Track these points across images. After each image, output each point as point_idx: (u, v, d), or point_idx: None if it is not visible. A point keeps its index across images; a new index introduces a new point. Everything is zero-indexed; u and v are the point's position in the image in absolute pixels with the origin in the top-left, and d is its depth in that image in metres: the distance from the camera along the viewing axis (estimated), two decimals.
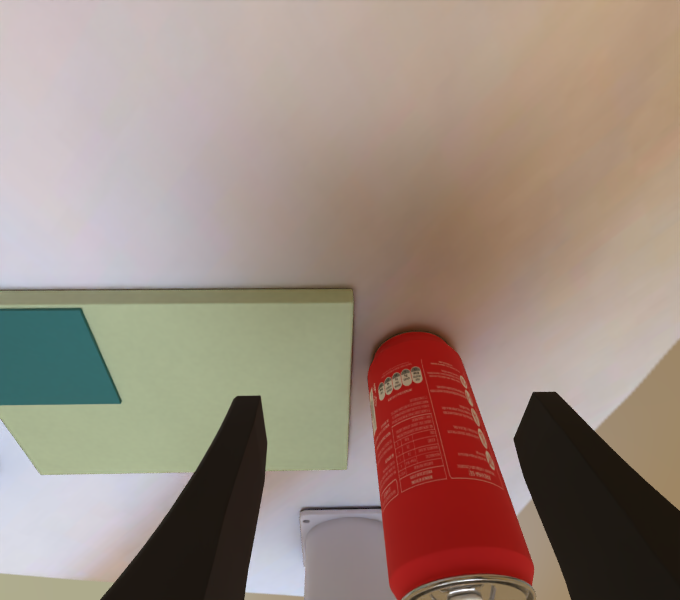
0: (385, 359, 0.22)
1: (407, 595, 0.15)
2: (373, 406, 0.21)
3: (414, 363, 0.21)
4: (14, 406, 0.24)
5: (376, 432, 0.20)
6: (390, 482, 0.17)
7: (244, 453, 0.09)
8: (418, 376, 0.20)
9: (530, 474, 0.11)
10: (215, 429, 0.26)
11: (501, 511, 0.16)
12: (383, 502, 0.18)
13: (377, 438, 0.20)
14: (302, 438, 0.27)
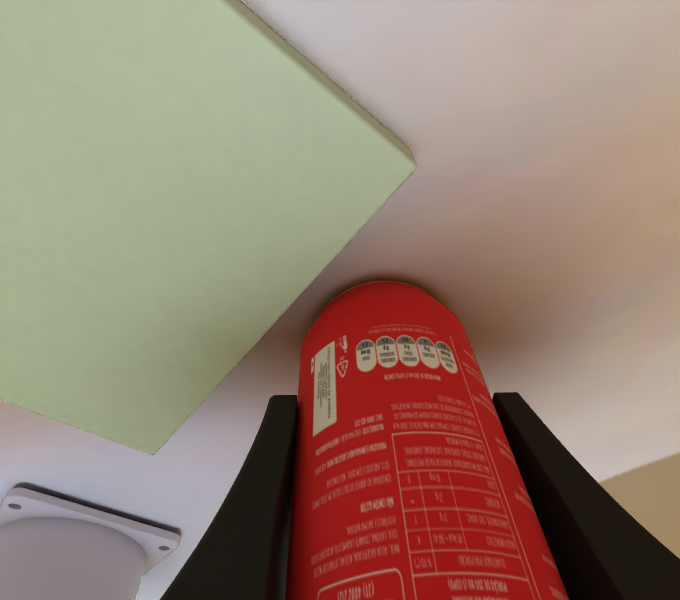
0: (381, 306, 0.12)
1: None
2: (331, 375, 0.10)
3: (441, 335, 0.11)
4: None
5: (333, 429, 0.09)
6: (374, 571, 0.07)
7: (287, 452, 0.09)
8: (450, 361, 0.10)
9: None
10: None
11: None
12: None
13: (334, 442, 0.09)
14: (117, 371, 0.14)
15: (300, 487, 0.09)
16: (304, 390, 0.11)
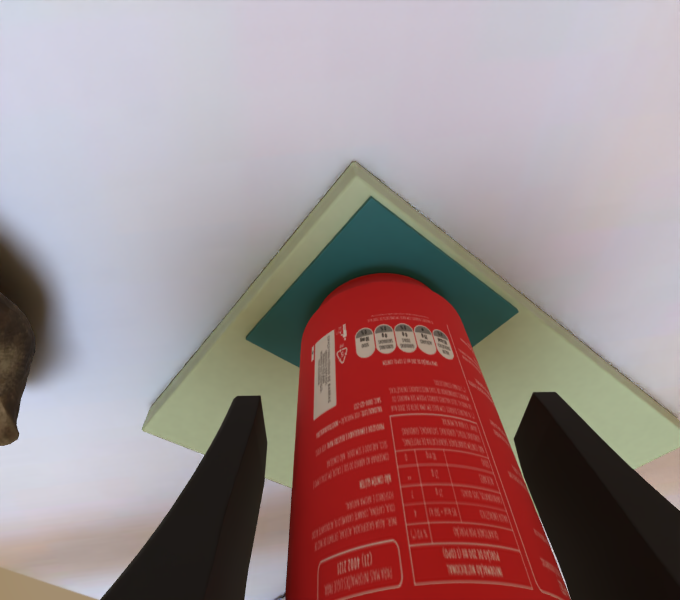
0: (380, 295, 0.12)
1: None
2: (331, 362, 0.11)
3: (438, 324, 0.11)
4: (258, 349, 0.16)
5: (332, 412, 0.09)
6: (372, 542, 0.07)
7: (244, 453, 0.09)
8: (446, 348, 0.11)
9: (530, 474, 0.11)
10: None
11: None
12: (331, 583, 0.07)
13: (334, 425, 0.09)
14: None
15: (301, 468, 0.09)
16: (305, 377, 0.11)
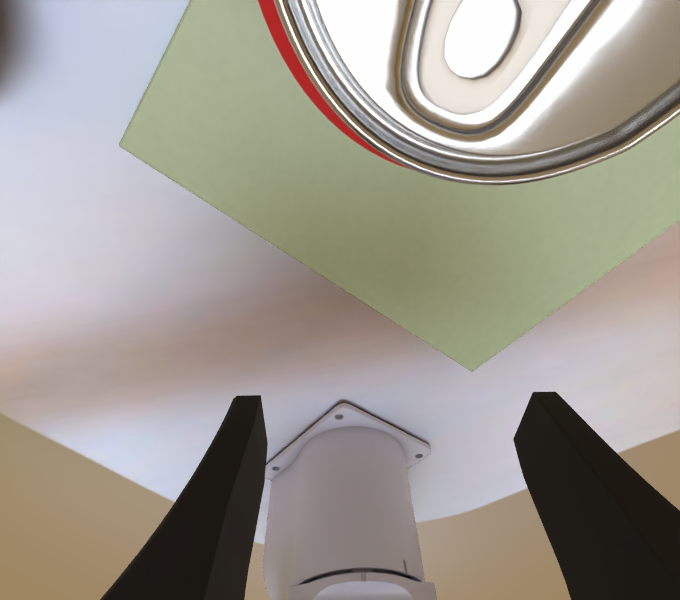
0: None
1: None
2: None
3: None
4: None
5: None
6: None
7: (244, 453, 0.09)
8: None
9: (530, 474, 0.11)
10: (430, 236, 0.19)
11: None
12: None
13: None
14: (490, 307, 0.21)
15: None
16: None
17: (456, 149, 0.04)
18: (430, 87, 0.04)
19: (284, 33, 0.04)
